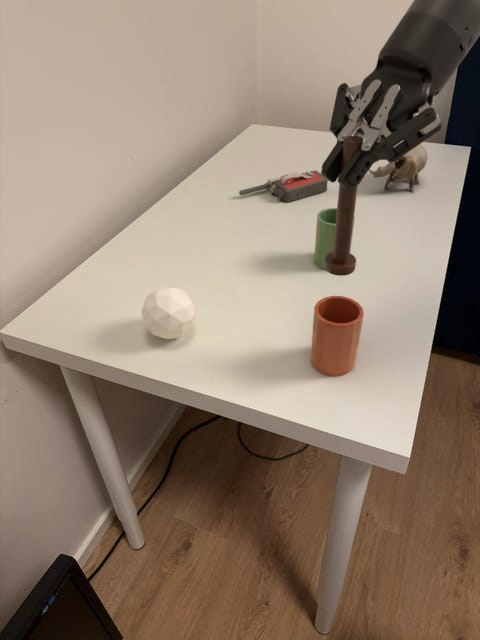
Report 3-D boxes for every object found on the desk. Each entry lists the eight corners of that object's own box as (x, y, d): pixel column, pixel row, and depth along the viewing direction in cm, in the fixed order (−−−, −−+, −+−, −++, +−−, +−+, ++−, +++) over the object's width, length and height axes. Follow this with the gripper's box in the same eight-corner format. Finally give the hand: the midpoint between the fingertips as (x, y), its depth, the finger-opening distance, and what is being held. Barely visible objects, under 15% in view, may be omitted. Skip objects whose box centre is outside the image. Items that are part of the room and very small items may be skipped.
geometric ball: (185, 339, 77) (213, 304, 73) (159, 357, 70) (188, 319, 66) (152, 306, 77) (177, 270, 74) (122, 321, 70) (149, 282, 67)
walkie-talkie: (310, 177, 116) (237, 197, 109) (311, 159, 113) (236, 178, 106) (333, 190, 110) (256, 212, 103) (334, 171, 107) (256, 193, 100)
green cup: (353, 256, 88) (359, 212, 83) (342, 274, 84) (347, 228, 79) (321, 249, 91) (325, 205, 85) (308, 265, 87) (311, 220, 81)
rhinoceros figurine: (443, 165, 112) (431, 120, 100) (414, 215, 111) (399, 175, 99) (412, 160, 117) (397, 116, 105) (384, 207, 116) (366, 168, 104)
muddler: (359, 263, 61) (377, 135, 51) (348, 278, 59) (365, 148, 48) (330, 256, 63) (342, 130, 52) (319, 271, 60) (329, 142, 50)
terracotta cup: (360, 353, 69) (369, 303, 63) (346, 381, 65) (354, 331, 59) (319, 340, 71) (324, 291, 66) (303, 367, 67) (307, 317, 62)
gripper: (369, 2, 51) (276, 145, 54) (486, 16, 42) (367, 187, 45) (395, 50, 57) (310, 178, 59) (504, 71, 48) (397, 221, 51)
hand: (335, 181), depth 52 cm, fingers closed on muddler, 2 cm apart
